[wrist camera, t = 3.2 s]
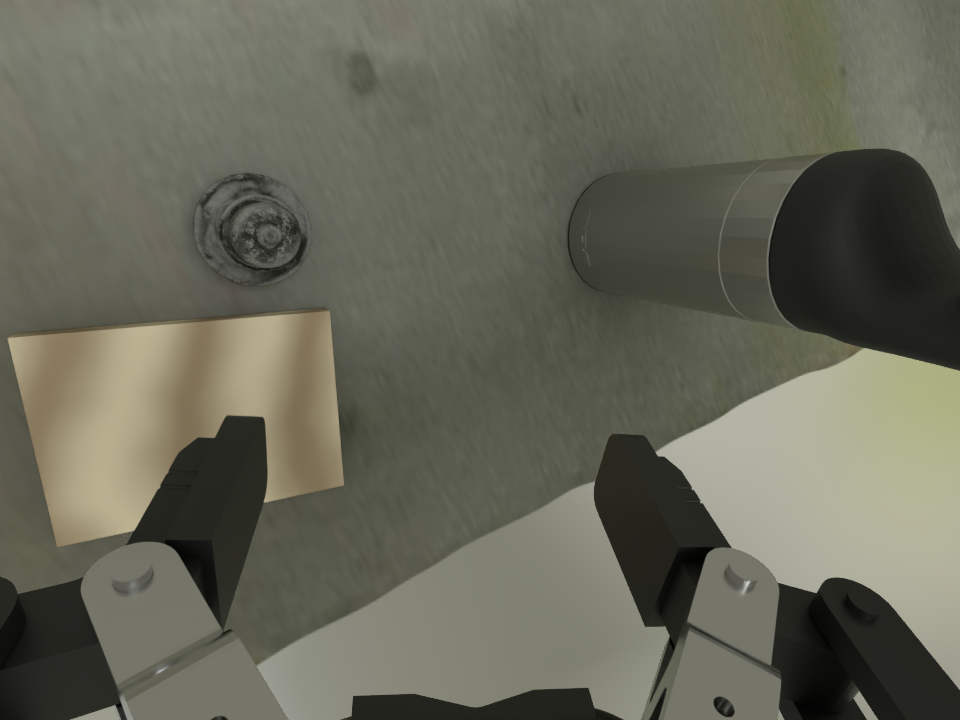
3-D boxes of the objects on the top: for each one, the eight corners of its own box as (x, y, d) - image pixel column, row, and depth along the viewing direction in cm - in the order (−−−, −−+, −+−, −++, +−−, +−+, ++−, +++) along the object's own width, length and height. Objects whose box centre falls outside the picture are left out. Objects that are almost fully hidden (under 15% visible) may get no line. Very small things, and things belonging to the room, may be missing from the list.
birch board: (325, 307, 36) (329, 310, 35) (340, 478, 39) (343, 485, 38) (14, 333, 29) (7, 337, 28) (61, 536, 32) (57, 547, 31)
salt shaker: (185, 177, 31) (175, 159, 20) (295, 176, 33) (337, 159, 23) (203, 284, 32) (202, 317, 22) (307, 275, 35) (351, 302, 24)
